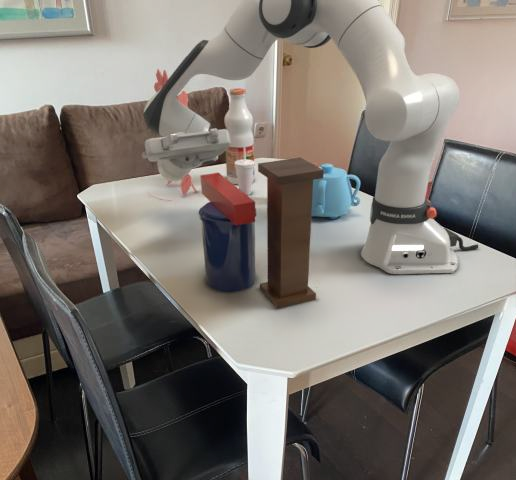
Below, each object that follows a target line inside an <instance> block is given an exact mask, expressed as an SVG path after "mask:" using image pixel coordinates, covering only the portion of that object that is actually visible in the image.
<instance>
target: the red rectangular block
mask: <svg viewBox="0 0 516 480" xmlns="http://www.w3.org/2000/svg"><path fill="white" fill-rule="evenodd" d="M200 187H201V194H202V195H203V196H204V197H205V199H206V200H208V202H211V203H212V204H213V205H214V206H215V207H217V208H218V209H219V210H220V211H221V212H222V213H223V214H224V215H225V216H226V217H227V218H228V219H229V220H230V221H231V222H232V223H233V224H234V225H241V224H246V223H252V222H255V223H256V217H255V208H256V201H255V200H254V199H252V198H251V197H250V196H249V195H246V194H245V193H243V192H242V191H241V190H240V189H239V187H238V186H236V184H232V183H231V182H230V181H228V180H227V177H224V176H223V175H222V174H221V173H220V172H214V173H208V174H207V173H206V174H200Z"/></svg>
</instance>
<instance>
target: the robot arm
mask: <svg viewBox="0 0 516 480" xmlns="http://www.w3.org/2000/svg"><path fill="white" fill-rule="evenodd" d="M279 39H281V40H283V41H285V42H288V43H289V44H291V45H294V46H299V47H304V48H308V49H316V48H320V47H322V46H324V45H326V44H327V43H328V42H330V40H332V41H333V44H334V45H335V46H336V48H337V49H338V50H339V52H340V53H341V55H342V56H343V58H344V59H345V61H346V63H347V64H348V66H349V67H350V68H351V71H352V72H353V73H354V74H355V76H356V78H357V80H358V82H359V84H360V87H361V90H362V92H363V95H364V99H365V102H366V103H365V108H364V123H365V126H366V128H367V130H368V132H369V133H370V134H371V135H372V136H373V137H374V138H375V139H376V140H379V141H384V142H390V143H389V145H388V146H387V149H386V151H385V153H384V154H383V155H382V157H381V158H380V160H379V164H378V169H377V177H376V185H375V194H374V196H373V197H372V202H371V204H370V205H371V206H370V212H369V222H370V224H369V228H368V233H367V236H366V239H365V243H364V245H363V246H362V249H361V252H360V256H361V258H362V259H363V260H364V261H365V262H366V263H368V264H369V265H371V266H374V267H377V268H379V269H381V270H383V271H384V272H385V273H387V274H390V275H411V274H413V275H414V274H415V275H417V274H420V275H421V274H453V273H454V272H455V271H457V269H458V266H459V259H458V255H457V253H456V252H455V250H454V249H453V248H452V247H456V246H457V242H458V248H459V249H460V250H462V251H465V252H466V251H467V252H468V251H472V250H476V249H478V248H479V244H472V245H468V246H464V241H463V238H462V237H461V236H460V235H458V234H457V233H455V232H453V231H452V230H450V229H448V228H446V227H443V226H442V225H441V224H440V223H438V222H437V221H436V220H435V218H436V217H437V215H438V214H437V213H438V212H437V210H436V208H435V207H434V205H433V203H431V201H430V199H426V197H427V191H428V185H429V181H430V176H431V171H432V167H433V163H434V161H435V159H436V155H437V152H438V149H439V147H440V145H441V142H442V139H443V137H444V134H445V133H446V129H447V126H448V124H449V122H450V120H451V119H452V117H453V115H454V114H455V112H456V111H457V109H458V107H459V104H460V98H461V97H460V89H459V86H458V84H457V83H456V81H455V80H454V78H452V77H450V76H448V75H445V74H442V73H438V72H427V73H423V74H419V75H417V74H415V73H414V72H413V70H412V69H411V66H410V64H409V62H408V59H407V56H406V52H405V48H406V39H405V37H404V35H403V34H402V32H401V31H400V29H399V28H398V26H397V25H396V24H395V22H394V21H393V19H392V18H391V17H390V14H389V13H388V12H387V10H386V9H385V8H384V6H383V4H382V3H381V2H380V0H241V1H240V2H239V4H238V5H237V6H236V8H235V9H234V11H233V13H231V15H230V17H229V18H228V20H227V22H226V24H225V25H224V27H223V28H222V30H221V31H220V33H219V34H218V35H217V36H215V37H214V38H212V39H210V40H207V39H202V40H200V41H199V42H198V43H197V44H196V45H195V46H194V47H193V48H192V49H191V51H190V52H189V53H188V54H187V55H186V56H185V58H183V60H182V61H181V63H179V65H178V66H177V67H176V69H175V70H174V71H173V73H172V74H171V75H170V76H169V77H168V80H167V81H166V83H165V85H164V86H163V87H162V88H161V89H160V90H159V91H158V92H157V93H154V94H153V95H152V96H151V97H150V98H149V99H148V101H147V103H146V104H145V106H144V109H143V113H142V116H143V120H144V122H145V125H146V127H147V129H148V130H149V131H151V132H153V133H155V134H157V135H158V136H160V137H152V138H148V139H146V140H145V141H144V149H145V151H143V152H142V153H141V157H142V159H147V160H148V162H152V163H153V162H155V163H156V162H157V163H156V166H157V171H158V173H159V175H160V176H161V177H162V178H163V179H165V180H167V181H168V180H169V181H172V182H178V181H182V179H183V178H184V177H185V176H186V175H187V174H190V172H191V171H192V170H194V169H197V168H198V167H200V166H203V165H206V164H210V163H213V162H216V161H218V160H219V156H221V155H223V154H224V153H226V150H227V148H228V147H229V146H230V144H231V142H230V136H229V132H228V130H226V128H223V129H218V128H217V127H214V128H213V126H212V123H210V122H209V121H208V120H206V119H205V118H203V116H201V115H199V114H198V113H197V112H195V111H194V110H191V109H190V108H189V107H188V108H187V107H186V106H185V105H183V104H182V103H180V102H179V101H178V100H177V99H178V97H177V96H179V95H180V94H181V91H183V89H184V88H185V86H186V85H187V84H189V82H190V81H191V79H192V78H193V77H195V76H198V75H209V76H213V77H217V78H220V79H223V80H227V81H242V80H245V79H248V78H249V77H251V76H252V75H253V74H254V73H255V71H256V70H257V69H258V68H259V66H260V65H261V63H262V62H263V60H264V58H265V57H266V55H267V53H268V52H269V50H270V49H271V47H272V46H273V44H275V42H277V41H278V40H279Z"/></svg>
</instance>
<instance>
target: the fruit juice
mask: <svg viewBox="0 0 516 480" xmlns="http://www.w3.org/2000/svg"><path fill="white" fill-rule="evenodd" d="M246 94H247V92H246V89H245V88H232V89H230V90H229V95H230V103H229V108H228V110H227V112H226V114H225V115H224V126H225V129H226V130H228V132H229V136H230V142H231V144H230V146H229V147H228V148H227V150H226V151H225V167H226V168H225V169H226V179H227V180H228V181H230V182H231V183H232V184H233V185H238V179H237V173H236V167H235V166H234V165H235V161H237V160H243V159H244V147H245V152H246V159H247V160H253V161H254V162H255V139H254V138H255V137H254V133H253V125H254V117H253V115H252V113H251V111H250V110H249V108H248V105H247V103H246V96H247V95H246ZM255 175H256V174H255V170H254V171H253V181H252V183H253V182H254V181H255V177H256V176H255ZM238 186H239V185H238Z"/></svg>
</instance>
